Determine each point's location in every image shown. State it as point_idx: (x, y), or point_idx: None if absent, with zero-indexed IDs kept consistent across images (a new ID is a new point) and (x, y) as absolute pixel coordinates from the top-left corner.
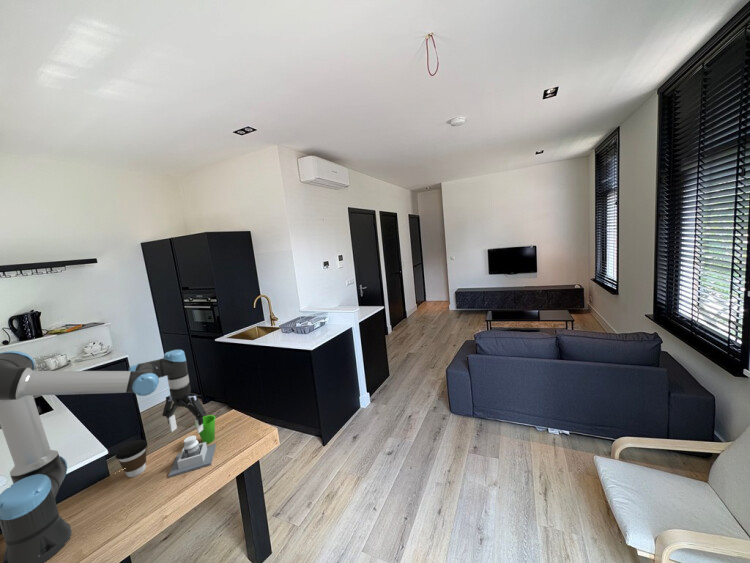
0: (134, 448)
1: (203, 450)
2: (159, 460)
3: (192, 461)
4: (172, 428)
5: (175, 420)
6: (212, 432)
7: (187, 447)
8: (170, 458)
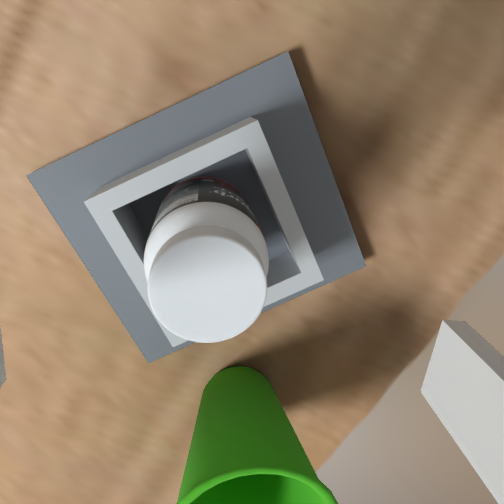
0: None
1: (117, 255)
2: (466, 225)
3: (159, 162)
4: (462, 359)
5: (494, 493)
6: (192, 438)
7: (199, 213)
8: (401, 242)
